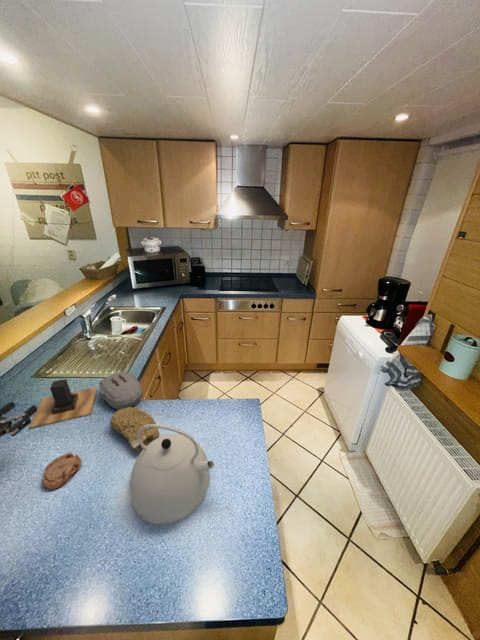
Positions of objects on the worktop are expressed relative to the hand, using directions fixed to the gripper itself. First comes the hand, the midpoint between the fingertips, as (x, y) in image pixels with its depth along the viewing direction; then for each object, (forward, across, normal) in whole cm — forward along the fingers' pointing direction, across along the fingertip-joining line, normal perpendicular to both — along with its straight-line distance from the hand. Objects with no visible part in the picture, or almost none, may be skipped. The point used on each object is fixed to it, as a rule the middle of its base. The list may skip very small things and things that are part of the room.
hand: (24, 405), depth 84 cm
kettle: (-8, -55, +13) cm, 57 cm away
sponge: (+6, -34, +14) cm, 37 cm away
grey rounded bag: (+23, -19, +14) cm, 33 cm away
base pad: (+13, 0, +14) cm, 19 cm away
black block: (+13, 0, +13) cm, 19 cm away
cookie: (-11, -20, +14) cm, 26 cm away
